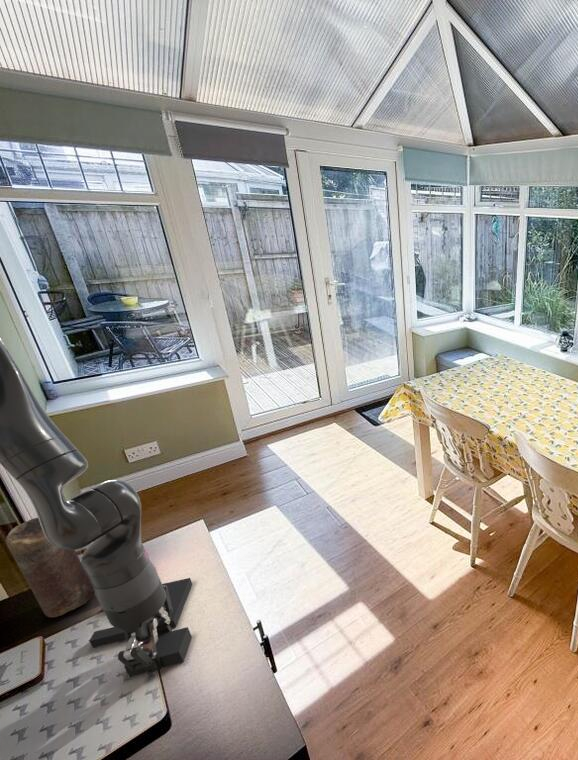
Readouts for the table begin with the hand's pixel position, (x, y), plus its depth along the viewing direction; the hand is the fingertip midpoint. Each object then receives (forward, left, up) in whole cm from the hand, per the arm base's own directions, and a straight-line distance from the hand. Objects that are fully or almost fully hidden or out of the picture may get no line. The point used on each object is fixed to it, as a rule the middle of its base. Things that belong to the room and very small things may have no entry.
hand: (161, 654), depth 76 cm
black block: (0, 0, -1) cm, 1 cm away
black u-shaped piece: (-6, +11, -1) cm, 13 cm away
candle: (-21, +19, -1) cm, 28 cm away
